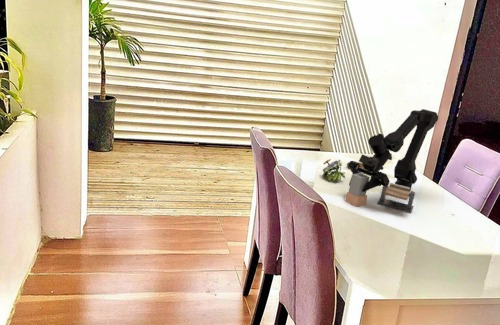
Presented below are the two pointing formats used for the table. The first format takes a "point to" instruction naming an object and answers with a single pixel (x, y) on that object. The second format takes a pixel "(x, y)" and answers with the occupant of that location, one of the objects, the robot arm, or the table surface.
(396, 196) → the trapdoor
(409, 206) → the trapdoor frame
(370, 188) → the robot arm
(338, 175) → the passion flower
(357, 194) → the slate block
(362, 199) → the plinth
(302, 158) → the table surface
